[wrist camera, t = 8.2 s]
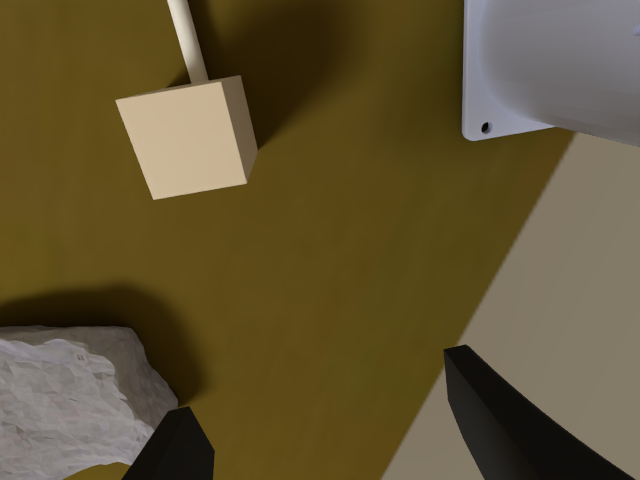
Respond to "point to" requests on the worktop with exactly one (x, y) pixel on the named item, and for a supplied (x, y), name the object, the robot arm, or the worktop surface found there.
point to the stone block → (75, 399)
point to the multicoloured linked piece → (191, 125)
